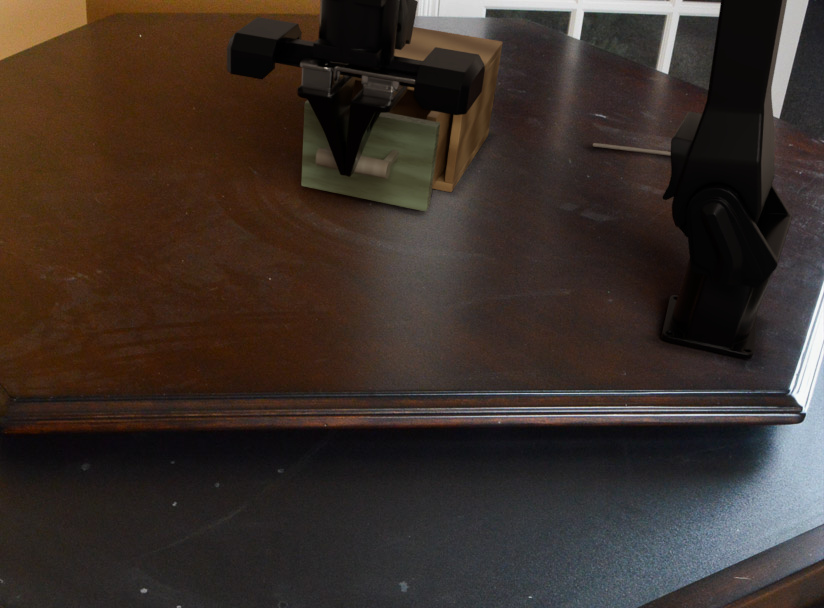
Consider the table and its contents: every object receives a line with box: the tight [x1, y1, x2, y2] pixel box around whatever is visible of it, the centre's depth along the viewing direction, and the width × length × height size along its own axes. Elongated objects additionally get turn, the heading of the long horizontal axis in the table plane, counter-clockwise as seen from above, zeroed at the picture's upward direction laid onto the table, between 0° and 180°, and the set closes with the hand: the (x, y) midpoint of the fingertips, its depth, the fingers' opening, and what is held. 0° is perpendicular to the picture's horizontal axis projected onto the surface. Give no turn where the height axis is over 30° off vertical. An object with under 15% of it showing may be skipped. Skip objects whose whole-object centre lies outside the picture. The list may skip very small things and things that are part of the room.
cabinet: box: [355, 26, 504, 193], centre depth 98 cm, size 15×13×9 cm
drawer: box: [300, 80, 453, 212], centre depth 92 cm, size 18×11×7 cm, turn 160°
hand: (347, 174), depth 84 cm, fingers closed, pressing on drawer
